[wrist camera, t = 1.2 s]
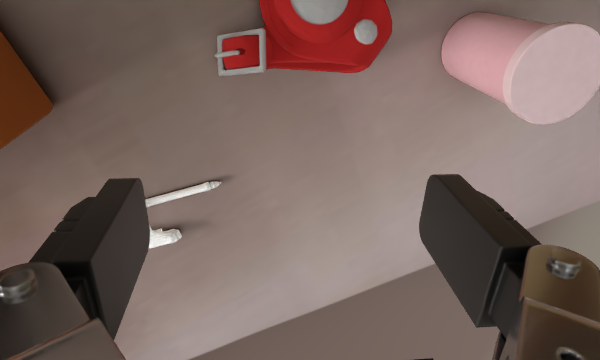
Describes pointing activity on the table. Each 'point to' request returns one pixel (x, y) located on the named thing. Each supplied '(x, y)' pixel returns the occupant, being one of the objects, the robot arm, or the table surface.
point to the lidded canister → (526, 63)
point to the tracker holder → (308, 37)
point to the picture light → (171, 235)
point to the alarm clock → (18, 96)
